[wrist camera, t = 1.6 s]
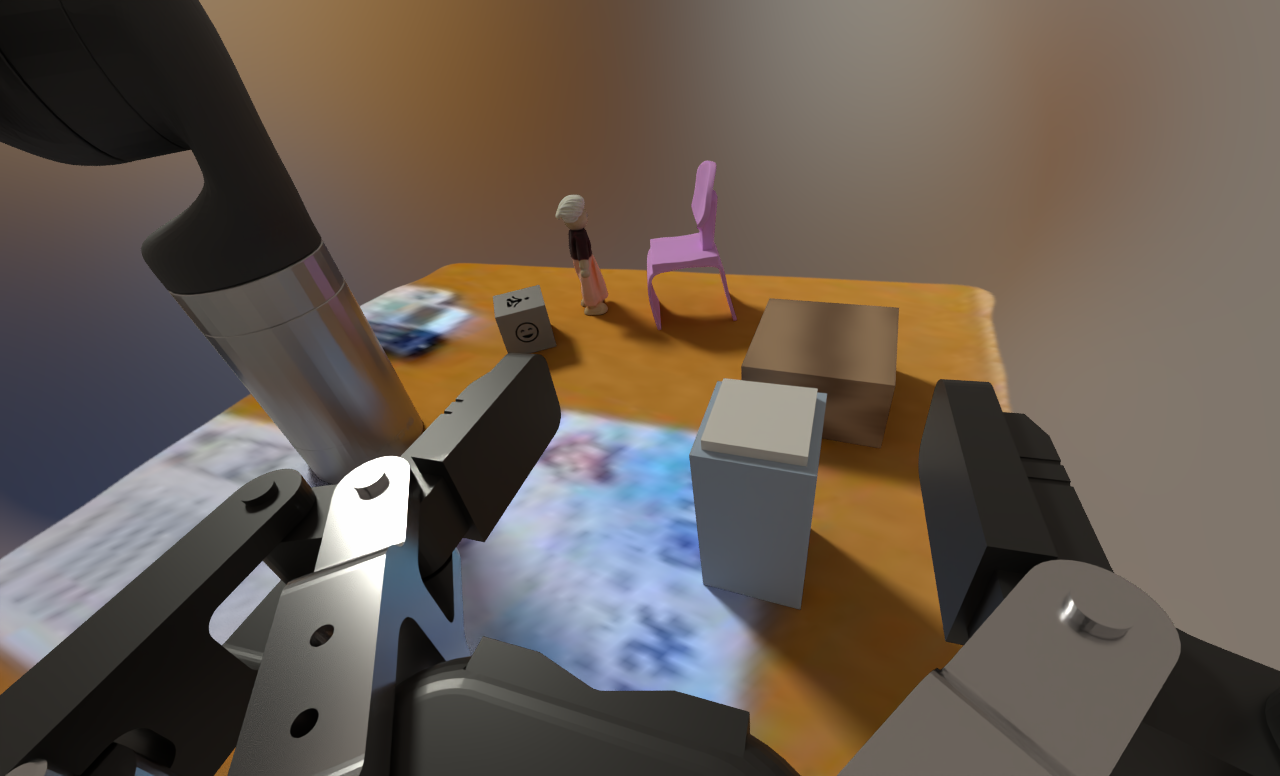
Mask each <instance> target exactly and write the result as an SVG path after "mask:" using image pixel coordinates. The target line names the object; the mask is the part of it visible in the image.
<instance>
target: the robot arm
mask: <svg viewBox="0 0 1280 776" xmlns="http://www.w3.org/2000/svg"><path fill="white" fill-rule="evenodd" d="M0 142H2V143H5V144H7V145H10V146H12V147H15V148H17V149H20V150H23V151H25V152H28V153H31V154H33V155H36V156H40V157H43V158H46V159H49V160H53V161H56V162H60V163H65V164H71V165H81V166H83V165H84V166H105V165H116V164H122V163H127V162H132V161H136V160H141V159H146V158H151V157H156V156H161V155H166V154H171V153H176V152H181V151H186V150H192V152H193V153H194V155H195V157H196V160H197V162H198V164H199V166H200V168H201V171H202V173H203V177H204V187H203V189H202V191H201V193H200V194H199V196H198V197H197V199H196V200H195V201H194V202H193V203H192V205H191V206H190V207H189V208H187V209H186V210H185V211H184V212H182V213H181V214H180V215H178V216H177V217H175V218H174V219H172V220H171V221H169V222H168V223H166V224H165V225H163V226H162V227H160V228H158V229H157V230H156V231H155V232H153V233H152V234H151V235H150V236H148V238H147V239H146V240H145V241H144V243H143V244H142V248H141V250H142V256H143V258H144V260H145V262H146V263H147V264H148V266H149V267H150V269H151V270H152V272H153V273H154V274H155V275H156V276H157V278H158V279H159V280H160V281H161V283H162V284H163V285H164V286H165V288H166V289H167V290H168V291H169V292H170V294H171V295H172V296H173V297H174V299H175V300H176V301H177V302H178V304H179V305H180V306H181V307H182V309H183V310H184V311H185V312H186V314H187V315H188V316H189V317H190V319H191V320H192V321H193V322H194V324H195V325H196V326H197V327H198V329H199V330H200V331H201V332H202V333H203V334H204V336H205V337H206V338H207V339H208V341H209V342H210V343H211V344H212V345H213V347H214V348H215V349H216V351H217V352H218V353H219V354H220V355H221V357H222V358H223V359H224V361H225V362H226V363H227V364H228V365H229V367H230V368H231V369H232V370H233V372H234V373H235V374H236V375H237V377H238V378H239V379H240V380H241V382H242V383H243V384H244V385H245V387H246V388H247V389H248V390H249V392H250V393H251V394H252V395H253V397H254V398H255V399H256V400H257V402H258V403H259V404H260V405H261V407H262V408H263V409H264V410H265V412H266V413H267V414H268V415H269V417H270V418H271V419H272V420H273V421H274V423H275V424H276V425H277V426H278V428H279V429H280V430H281V431H282V433H283V434H284V435H285V436H286V438H287V439H288V440H289V442H290V443H291V444H292V446H293V447H294V448H295V449H296V450H297V452H298V453H299V454H300V455H301V457H302V458H303V459H304V460H305V462H306V463H307V464H308V465H309V467H310V468H311V469H312V470H313V472H314V473H315V474H316V475H317V477H318V478H320V479H321V480H323V481H324V482H327V483H331V484H336V485H328V486H320V487H312V488H311V487H310V486H309V485H308V483H307V482H306V481H305V479H304V478H303V477H302V475H301V474H300V473H299V472H298V471H296V470H293V469H281V470H276V471H272V472H269V473H266V474H264V475H261V476H259V477H257V478H255V479H253V480H252V481H250V482H248V483H247V484H245V485H244V486H242V487H241V488H240V489H238V490H237V491H236V492H235V493H233V494H232V495H231V496H230V497H229V498H228V499H227V500H225V501H224V502H223V503H222V504H221V505H220V506H218V507H217V508H216V509H215V510H214V511H213V512H212V513H210V514H209V515H208V516H207V517H206V518H205V519H203V520H202V521H201V522H200V523H199V524H198V525H196V526H195V527H194V528H193V529H192V530H191V531H190V532H188V533H187V534H186V535H185V536H184V537H183V538H181V539H180V540H179V541H178V542H177V543H176V544H175V545H173V546H172V547H171V548H170V549H169V550H168V551H166V552H165V553H164V554H163V555H162V556H161V557H160V558H158V559H157V560H156V561H155V562H154V563H153V564H151V565H150V566H149V567H148V568H147V569H146V570H144V571H143V572H142V573H141V574H140V575H139V576H138V577H136V578H135V579H134V580H133V581H132V582H131V583H129V584H128V585H127V586H126V587H125V588H124V589H123V590H121V591H120V592H119V593H118V594H117V595H116V596H114V597H113V598H112V599H111V600H110V601H109V602H107V603H106V604H105V605H104V606H103V607H102V608H101V609H99V610H98V611H97V612H96V613H95V614H94V615H92V616H91V617H90V618H89V619H88V620H87V621H86V622H84V623H83V624H82V625H81V626H80V627H79V628H77V629H76V630H75V631H74V632H73V633H72V634H71V635H69V636H68V637H67V638H66V639H65V640H64V641H62V642H61V643H60V644H59V645H58V646H57V647H55V648H54V649H53V650H52V651H51V652H50V653H49V654H47V655H46V656H45V657H44V658H43V659H42V660H40V661H39V662H38V663H37V664H36V665H35V666H34V667H32V668H31V669H30V670H29V671H28V672H27V673H25V674H24V675H23V676H22V677H21V678H20V679H18V680H17V681H16V682H15V683H14V684H13V685H12V686H10V687H9V688H8V689H7V690H6V691H5V692H3V693H2V694H1V695H0V776H214V775H215V773H216V772H217V771H218V769H219V768H220V767H221V765H222V764H223V763H224V762H225V760H226V759H227V758H228V756H229V755H230V754H231V752H232V751H233V750H234V748H235V747H236V749H235V752H234V755H233V759H232V762H231V766H230V769H229V772H228V776H800V775H799V774H798V773H797V772H796V770H795V769H794V768H793V767H792V766H791V765H790V764H789V763H788V762H787V761H786V760H785V759H784V758H782V757H781V756H780V755H779V754H777V753H776V752H775V751H774V750H773V749H771V748H770V747H769V746H768V745H766V744H765V743H763V742H762V741H760V740H759V739H757V738H755V737H754V736H752V735H751V734H750V714H749V712H748V711H744V710H740V709H737V708H733V707H730V706H726V705H723V704H719V703H716V702H712V701H709V700H705V699H702V698H698V697H695V696H691V695H688V694H684V693H681V692H677V691H599V690H596V689H593V688H591V687H590V686H588V685H587V684H585V683H584V682H582V681H581V680H579V679H578V678H576V677H575V676H573V675H572V674H571V673H569V672H568V671H566V670H565V669H563V668H562V667H560V666H559V665H557V664H556V663H554V662H553V661H552V660H550V659H549V658H547V657H546V656H544V655H543V654H541V653H540V652H537V651H533V650H530V649H526V648H523V647H519V646H516V645H512V644H509V643H505V642H502V641H498V640H495V639H491V638H487V637H484V636H483V637H482V639H481V641H480V643H479V645H478V646H477V648H476V650H475V652H474V653H473V655H472V656H471V654H470V651H469V649H468V646H467V643H466V639H465V633H464V620H463V600H462V579H461V559H460V553H459V551H458V549H457V548H456V547H457V545H458V544H459V542H460V541H461V540H462V538H467V539H472V540H476V541H481V542H485V541H486V539H487V538H488V536H489V535H490V533H491V531H492V530H493V528H494V527H495V525H496V524H497V522H498V521H499V519H500V518H501V516H502V515H503V513H504V512H505V510H506V509H507V507H508V506H509V504H510V503H511V501H512V499H513V498H514V496H515V495H516V493H517V492H518V490H519V489H520V487H521V486H522V484H523V483H524V481H525V480H526V478H527V477H528V475H529V474H530V472H531V470H532V469H533V467H534V466H535V464H536V463H537V461H538V460H539V458H540V457H541V455H542V454H543V452H544V451H545V449H546V448H547V446H548V445H549V443H550V441H551V440H552V438H553V437H554V435H555V434H556V432H557V430H558V428H559V424H560V419H561V410H560V405H559V401H558V398H557V395H556V391H555V388H554V385H553V381H552V378H551V375H550V371H549V368H548V364H547V362H546V360H545V358H544V357H543V356H542V355H540V354H523V353H509V354H507V355H506V356H505V357H504V358H503V359H502V360H501V361H500V362H499V363H498V364H497V365H496V366H495V367H494V368H493V369H492V371H491V372H489V373H487V374H486V375H484V376H482V377H481V378H479V379H478V380H476V381H474V382H473V383H471V384H470V385H469V386H468V387H467V388H466V389H465V390H464V391H463V392H462V393H461V394H460V395H459V396H458V397H457V398H456V402H452V403H451V404H450V405H449V406H448V407H447V409H446V410H445V411H444V414H441V415H440V416H439V417H438V418H437V419H436V420H435V421H434V422H433V423H432V424H431V425H430V426H429V427H428V428H427V429H426V430H425V431H424V432H423V434H422V431H423V422H422V420H421V418H420V416H419V414H418V412H417V411H416V409H415V407H414V405H413V403H412V401H411V400H410V398H409V396H408V394H407V392H406V390H405V389H404V386H403V384H402V383H401V381H400V379H399V377H398V375H397V374H396V372H395V370H394V368H393V366H392V365H391V363H390V361H389V359H388V357H387V355H386V354H385V352H384V350H383V348H382V346H381V345H380V343H379V341H378V339H377V337H376V336H375V334H374V332H373V330H372V328H371V326H370V325H369V323H368V321H367V319H366V317H365V316H364V314H363V312H362V310H361V308H360V306H359V305H358V303H357V301H356V299H355V297H354V296H353V294H352V292H351V290H350V288H349V287H348V285H347V283H346V281H345V280H344V278H343V276H342V274H341V272H340V271H339V269H338V267H337V265H336V263H335V262H334V260H333V258H332V256H331V254H330V252H329V251H328V249H327V247H326V246H325V244H324V242H323V240H322V239H321V236H320V234H319V233H318V231H317V229H316V227H315V226H314V224H313V222H312V220H311V218H310V216H309V214H308V212H307V210H306V208H305V206H304V204H303V202H302V200H301V197H300V195H299V193H298V191H297V189H296V187H295V185H294V183H293V181H292V179H291V177H290V176H289V174H288V172H287V170H286V168H285V166H284V164H283V163H282V161H281V159H280V157H279V155H278V153H277V151H276V149H275V148H274V145H273V143H272V141H271V139H270V137H269V136H268V134H267V131H266V129H265V127H264V125H263V124H262V121H261V119H260V117H259V115H258V113H257V111H256V109H255V107H254V105H253V103H252V101H251V98H250V96H249V94H248V92H247V90H246V88H245V86H244V84H243V82H242V80H241V78H240V75H239V73H238V71H237V69H236V67H235V65H234V63H233V61H232V59H231V57H230V55H229V53H228V51H227V49H226V48H225V46H224V44H223V42H222V40H221V38H220V36H219V34H218V32H217V31H216V28H215V27H214V25H213V23H212V22H211V20H210V19H209V17H208V15H207V14H206V12H205V10H204V9H203V7H202V5H201V4H200V2H199V0H0ZM1060 462H1061V460H1060V458H1059V456H1058V454H1057V451H1056V449H1055V447H1054V445H1053V443H1052V441H1051V439H1050V437H1049V435H1048V434H1046V433H1045V432H1044V431H1043V430H1042V429H1041V428H1040V427H1039V426H1038V425H1036V424H1035V423H1034V422H1033V421H1032V420H1031V419H1029V417H1027V416H1026V415H1025V414H1019V413H1006V412H1002V410H1001V407H1000V404H999V402H998V399H997V396H996V394H995V391H994V389H993V386H992V385H991V383H989V382H978V381H961V380H944V379H940V380H939V381H938V382H937V384H936V387H935V390H934V394H933V398H932V401H931V405H930V409H929V413H928V417H927V421H926V425H925V428H924V432H923V436H922V440H921V444H920V451H919V478H920V485H921V491H922V497H923V503H924V510H925V516H926V522H927V529H928V535H929V541H930V547H931V554H932V560H933V566H934V572H935V579H936V585H937V591H938V597H939V604H940V610H941V616H942V623H943V629H944V635H945V641H946V642H951V643H956V644H960V645H964V646H963V647H962V648H961V649H960V650H959V652H958V653H957V654H956V655H955V656H954V657H953V658H952V660H951V661H950V662H949V663H948V664H947V665H946V666H945V667H944V668H942V669H941V670H939V669H938V668H937V669H935V670H933V671H932V672H930V673H929V674H928V675H927V676H926V677H925V678H924V679H923V680H922V681H921V682H920V683H919V684H918V685H917V686H916V687H915V688H914V690H913V691H912V692H911V693H910V694H909V695H908V696H907V697H906V699H905V700H904V701H903V702H902V703H901V704H900V705H899V706H898V708H897V709H896V710H895V711H894V712H893V713H892V714H891V715H890V717H889V718H888V719H887V720H886V721H885V722H884V723H883V724H882V726H881V727H880V728H879V729H878V730H877V731H876V732H875V733H874V735H873V736H872V737H871V738H870V739H869V740H868V741H867V742H866V744H865V745H864V746H863V747H862V748H861V749H860V750H859V751H858V753H857V754H856V755H855V756H854V757H853V758H852V759H851V760H850V762H849V763H848V764H847V765H846V766H845V767H844V768H843V769H842V770H841V772H840V773H839V774H838V775H837V776H1280V671H1278V670H1275V669H1273V668H1270V667H1268V666H1265V665H1263V664H1260V663H1257V662H1255V661H1253V660H1250V659H1247V658H1245V657H1242V656H1240V655H1237V654H1234V653H1232V652H1230V651H1227V650H1224V649H1222V648H1220V647H1217V646H1214V645H1212V644H1209V643H1207V642H1205V641H1202V640H1200V639H1198V638H1195V637H1193V636H1191V635H1189V634H1187V633H1185V632H1183V631H1181V630H1179V629H1177V628H1175V626H1174V624H1173V622H1172V621H1171V619H1170V618H1169V616H1168V615H1167V613H1166V612H1165V611H1164V610H1163V609H1162V608H1161V607H1160V606H1159V604H1158V603H1157V602H1156V601H1154V600H1153V599H1152V598H1151V597H1150V596H1149V595H1148V594H1147V593H1145V592H1144V591H1143V590H1141V589H1140V588H1139V587H1137V586H1136V585H1134V584H1133V583H1131V582H1129V581H1128V580H1126V579H1124V578H1123V577H1121V576H1119V575H1117V574H1115V573H1114V572H1113V570H1112V568H1111V566H1110V564H1109V562H1108V560H1107V558H1106V556H1105V553H1104V551H1103V549H1102V547H1101V545H1100V543H1099V541H1098V539H1097V536H1096V534H1095V532H1094V530H1093V528H1092V526H1091V524H1090V521H1089V519H1088V517H1087V515H1086V513H1085V511H1084V509H1083V507H1082V504H1081V502H1080V500H1079V498H1078V496H1077V494H1076V492H1075V490H1074V487H1071V486H1070V482H1071V481H1070V479H1069V477H1068V475H1067V473H1066V470H1065V468H1064V466H1063V465H1060ZM262 561H264V562H265V564H266V565H267V566H268V567H269V568H270V569H271V570H272V571H273V572H274V573H275V574H276V575H277V576H278V577H279V578H280V579H281V581H280V582H279V583H278V584H277V585H276V586H275V587H274V589H273V590H272V591H271V592H270V593H269V594H268V595H267V596H266V597H265V599H264V600H263V601H262V602H261V603H260V604H259V605H258V606H257V607H256V609H255V610H254V611H253V612H252V613H251V614H250V615H249V616H248V617H247V619H246V620H245V621H244V622H243V623H242V624H241V625H240V626H239V627H238V629H237V630H236V631H235V632H234V633H233V634H232V635H231V636H230V637H229V639H228V640H227V641H226V642H225V643H224V644H223V645H220V644H219V643H218V642H217V641H215V640H214V639H213V638H212V637H211V635H210V634H209V622H210V619H211V617H212V615H213V613H214V611H215V610H216V609H217V607H218V606H219V605H220V604H221V603H222V602H223V601H224V600H225V599H226V598H227V597H228V596H229V595H230V594H231V593H232V592H233V591H234V590H235V589H236V588H237V586H238V585H239V584H240V583H241V582H242V581H243V580H244V579H245V578H246V577H247V576H248V575H249V574H250V573H251V572H252V571H253V570H254V569H255V568H256V567H257V566H258V565H259V564H260V563H261V562H262Z"/></svg>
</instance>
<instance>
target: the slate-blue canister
mask: <svg viewBox="0 0 1280 776" xmlns="http://www.w3.org/2000/svg"><path fill="white" fill-rule="evenodd" d="M817 391H818V389H816V388H807V387H798V386H789V385H780V384H770V383H761V382H752V381H743V380H734V379H723V381H722V382H719V381H717V384H716V386H715V389H714V392H713V394H712V397H711V399H710V402H709V405H708V407H707V410H706V413H705V415H704V418H703V420H702V423H701V426H700V428H699V431H698V433H697V436H696V439H695V441H694V444H693V446H692V449H691V452H690V454H689V458H690V467H691V476H692V485H693V494H694V504H695V513H696V522H697V531H698V540H699V549H700V559H701V568H702V577H703V584H704V585H707V586H711V587H715V588H719V589H723V590H727V591H730V592H734V593H738V594H742V595H746V596H750V597H753V598H757V599H761V600H765V601H769V602H773V603H776V604H780V605H784V606H788V607H792V608H796V609H799V610H801V602H802V594H803V586H804V578H805V569H806V561H807V553H808V545H809V537H810V529H811V521H812V513H813V505H814V497H815V489H816V481H817V473H818V465H819V456H820V448H821V440H822V432H823V424H824V415H825V407H826V399H827V393H818V392H817Z"/></svg>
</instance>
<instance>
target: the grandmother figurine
mask: <svg viewBox="0 0 1280 776" xmlns="http://www.w3.org/2000/svg"><path fill="white" fill-rule="evenodd" d="M584 204H585V203H584V199H583V197H581V196H579V195H569V196H567V197H565V198H564V199H563V200H562V201H561V202H560V204H559V206H558V210H557V213H556V218H557V219H558V220H560V219H561V218H562V220H563V221H564V223H565V225H566V226H567V227H568V228H569V229H570V230H569V249H570V254H571V257H572V259H573V262H574V266H575V270H576V273H577V275H578V277H579V279H580V281H581V290H582V296H583V299H582V301H581V305H582V306H583V307H586V308H585V311H584V313H585V314H586V315H600V314H603V313H606V312H607V311H608V307H607V305H606V304H605V303H602V302H603V301H604V299H605V298H607V297H608V291H607V288H606V285H605V282H604V279H603V276H602V274H601V272H600V269H599V267H598V265H597V262H596V260H595V258H594V256H593V255H592V251H591V244H590V240H589V238H588V235H587V232H586V230H585V229H584V227H585V226H586V224H587V222H588V215H587V212H586V210H585V209H584Z"/></svg>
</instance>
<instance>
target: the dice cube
mask: <svg viewBox="0 0 1280 776" xmlns="http://www.w3.org/2000/svg"><path fill="white" fill-rule="evenodd" d="M493 301H494V312H495V319H496V322H497V324H498V327H499V330H500V333H501V335H502V338H503V341H504V344H505V346H506V349H507V352H508V354H509V353H523V354H529V353H533V352H537V351H540V350H544V349H548V348H552V347H555V346H556V342H555V339H554V335H553V331H552V328H551V324H550V321H549V317H548V314H547V310H546V307H545V303H544V300H543V297H542V293H541V290H540V286H539V285H537V286H533V287H529V288H525V289H521V290H517V291H513V292H509V293H505V294H501V295H497V296H493Z"/></svg>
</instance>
